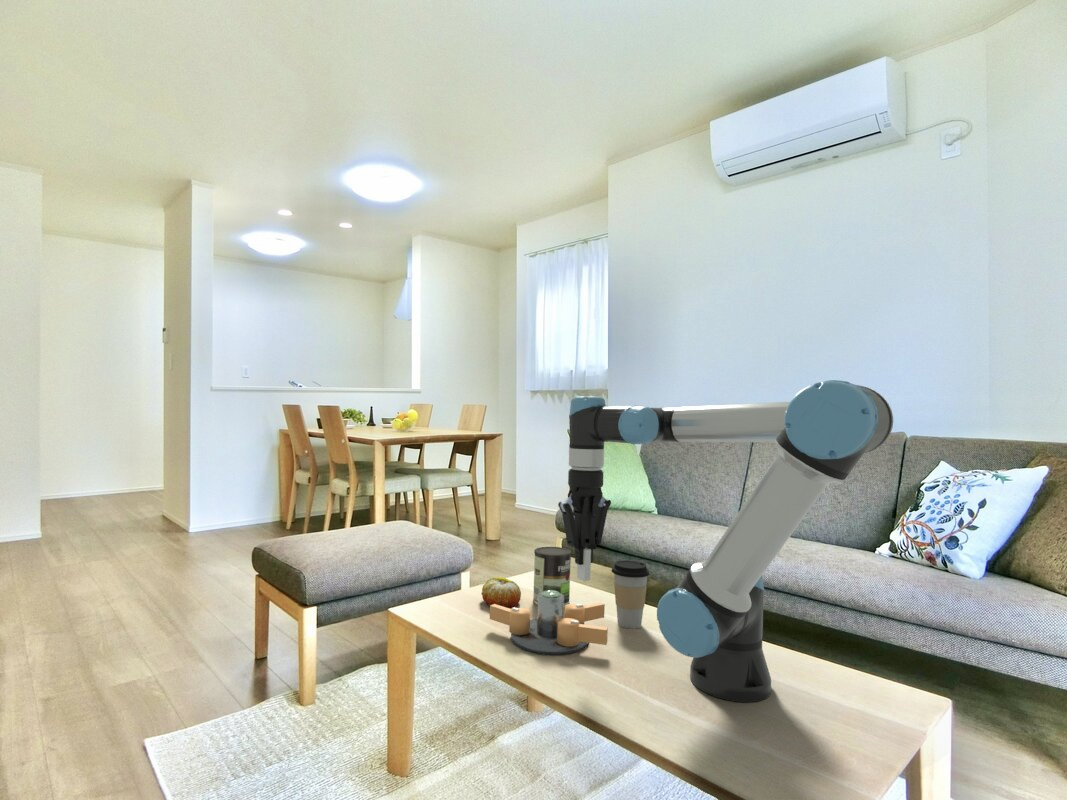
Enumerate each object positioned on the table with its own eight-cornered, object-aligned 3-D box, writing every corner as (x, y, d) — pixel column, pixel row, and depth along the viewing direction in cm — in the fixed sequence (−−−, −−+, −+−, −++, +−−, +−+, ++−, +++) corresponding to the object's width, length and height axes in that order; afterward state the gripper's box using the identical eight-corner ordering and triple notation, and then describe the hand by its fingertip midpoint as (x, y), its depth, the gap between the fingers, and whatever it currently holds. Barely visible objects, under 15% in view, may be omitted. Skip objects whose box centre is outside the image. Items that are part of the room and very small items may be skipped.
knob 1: (534, 630, 131) (534, 609, 131) (521, 636, 127) (521, 615, 127) (498, 618, 138) (498, 599, 138) (485, 624, 134) (485, 603, 134)
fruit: (471, 603, 152) (477, 573, 155) (494, 605, 161) (499, 576, 163) (504, 611, 146) (510, 579, 148) (526, 613, 154) (531, 582, 157)
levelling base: (599, 634, 135) (601, 587, 135) (569, 662, 119) (571, 609, 119) (532, 619, 143) (534, 575, 143) (496, 644, 127) (497, 594, 127)
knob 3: (554, 644, 123) (555, 622, 123) (559, 636, 128) (560, 615, 128) (605, 651, 120) (605, 629, 120) (608, 643, 125) (608, 621, 125)
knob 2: (572, 631, 131) (572, 610, 131) (560, 624, 135) (560, 604, 136) (608, 622, 137) (608, 602, 137) (595, 616, 141) (596, 597, 141)
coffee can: (576, 600, 159) (577, 550, 159) (557, 610, 150) (559, 557, 150) (545, 593, 164) (546, 544, 165) (525, 602, 156) (527, 551, 156)
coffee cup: (656, 626, 140) (657, 566, 141) (628, 634, 135) (630, 571, 136) (629, 615, 148) (630, 557, 149) (602, 621, 143) (603, 562, 143)
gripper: (598, 466, 128) (595, 570, 127) (551, 467, 121) (548, 578, 120) (620, 469, 122) (618, 579, 121) (572, 471, 114) (569, 588, 114)
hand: (583, 578), depth 120 cm, fingers closed
